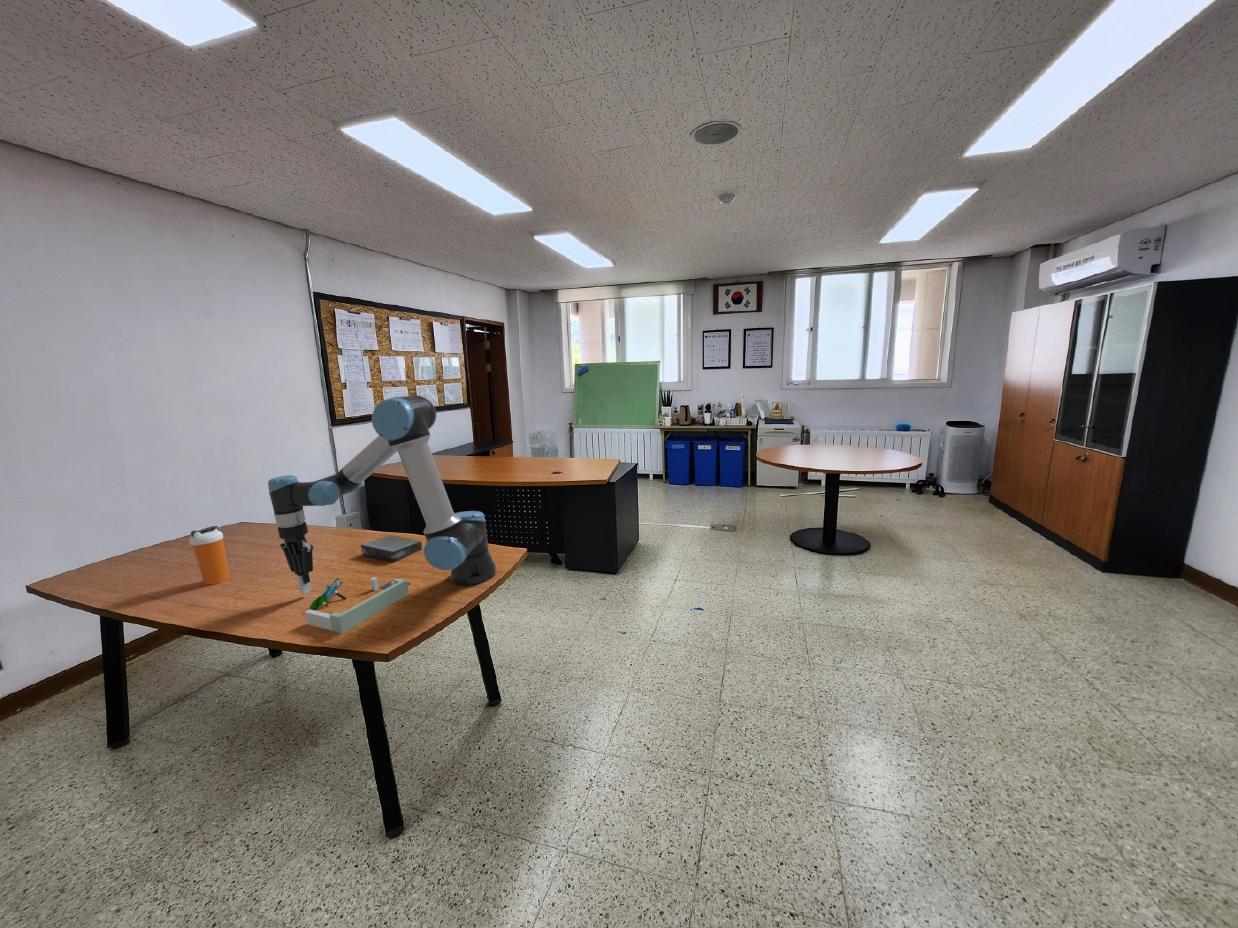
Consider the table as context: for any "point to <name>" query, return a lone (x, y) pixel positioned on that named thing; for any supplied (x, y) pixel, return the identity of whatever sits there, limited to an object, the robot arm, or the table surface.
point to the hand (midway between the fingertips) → (306, 591)
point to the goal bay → (369, 607)
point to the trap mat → (389, 585)
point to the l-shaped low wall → (324, 619)
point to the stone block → (391, 548)
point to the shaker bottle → (210, 555)
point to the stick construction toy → (325, 596)
